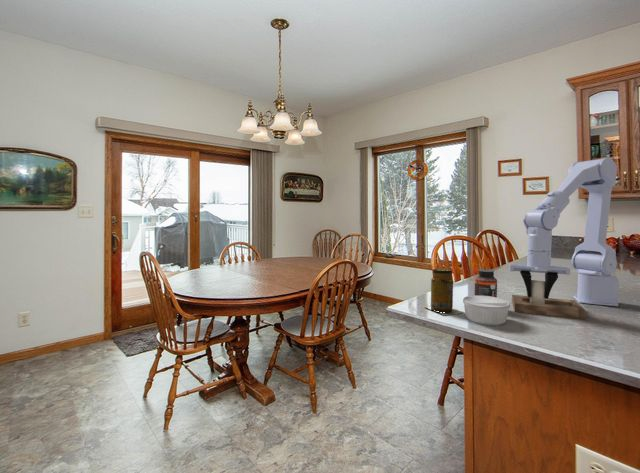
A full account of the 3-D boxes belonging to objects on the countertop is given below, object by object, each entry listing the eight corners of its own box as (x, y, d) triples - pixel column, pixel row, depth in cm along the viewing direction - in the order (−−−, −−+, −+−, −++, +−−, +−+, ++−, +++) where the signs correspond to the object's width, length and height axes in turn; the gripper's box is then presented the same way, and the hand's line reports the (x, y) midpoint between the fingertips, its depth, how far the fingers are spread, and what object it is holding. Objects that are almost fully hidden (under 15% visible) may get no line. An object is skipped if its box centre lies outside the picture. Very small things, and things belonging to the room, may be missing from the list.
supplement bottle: (499, 311, 94) (500, 272, 93) (477, 310, 95) (478, 271, 94) (492, 305, 100) (493, 268, 99) (471, 304, 101) (472, 268, 100)
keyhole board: (574, 308, 96) (574, 300, 96) (584, 319, 86) (585, 310, 86) (511, 302, 103) (511, 294, 103) (514, 311, 93) (514, 303, 93)
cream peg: (543, 307, 96) (544, 280, 96) (545, 310, 93) (546, 282, 93) (529, 305, 98) (530, 279, 98) (530, 308, 95) (531, 281, 94)
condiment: (443, 305, 100) (443, 266, 100) (464, 313, 93) (464, 271, 92) (423, 308, 98) (424, 268, 97) (443, 316, 90) (443, 273, 89)
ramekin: (488, 329, 79) (489, 308, 79) (453, 316, 90) (453, 297, 89) (519, 323, 84) (520, 303, 84) (482, 311, 94) (483, 293, 94)
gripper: (511, 251, 94) (509, 297, 95) (573, 253, 87) (571, 303, 88) (509, 248, 100) (508, 292, 101) (567, 250, 94) (565, 297, 95)
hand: (537, 297), depth 95 cm, fingers closed on cream peg, 4 cm apart
